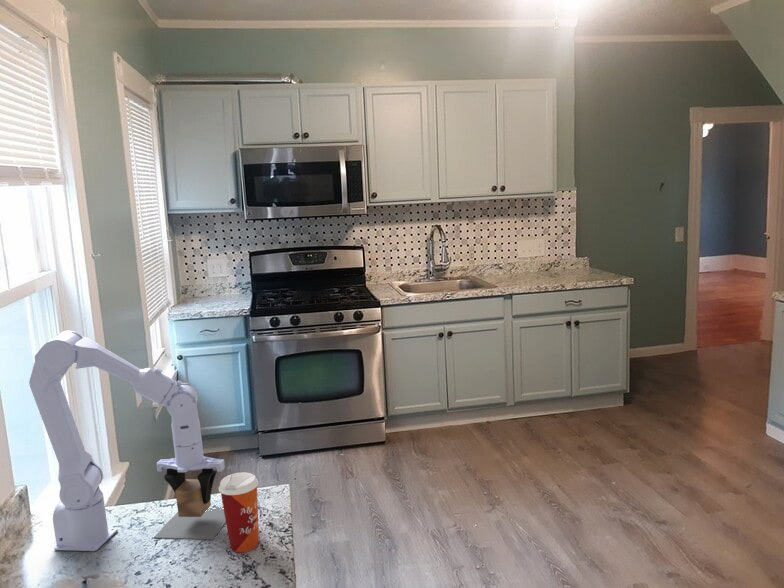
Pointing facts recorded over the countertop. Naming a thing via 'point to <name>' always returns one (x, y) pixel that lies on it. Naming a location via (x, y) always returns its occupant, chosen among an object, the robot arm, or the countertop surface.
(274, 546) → the countertop surface
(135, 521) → the countertop surface
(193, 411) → the robot arm
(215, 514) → the slate mat
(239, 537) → the paper cup
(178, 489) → the walnut block
